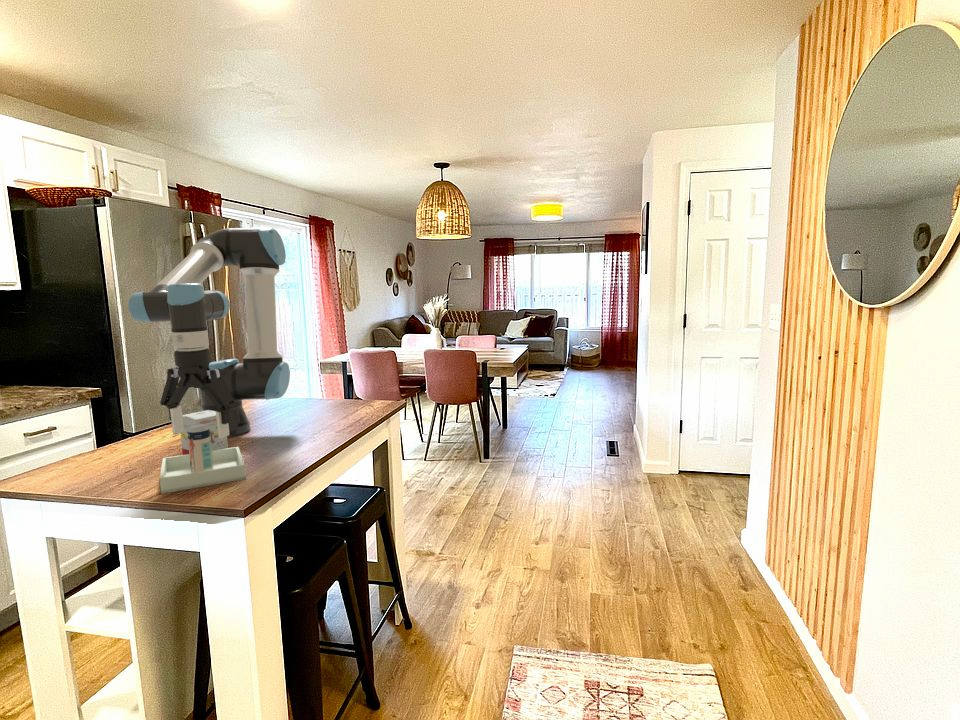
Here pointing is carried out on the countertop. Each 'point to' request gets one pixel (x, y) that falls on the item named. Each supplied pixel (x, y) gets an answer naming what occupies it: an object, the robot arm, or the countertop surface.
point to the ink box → (211, 421)
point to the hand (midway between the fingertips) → (201, 435)
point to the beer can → (200, 447)
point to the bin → (180, 477)
